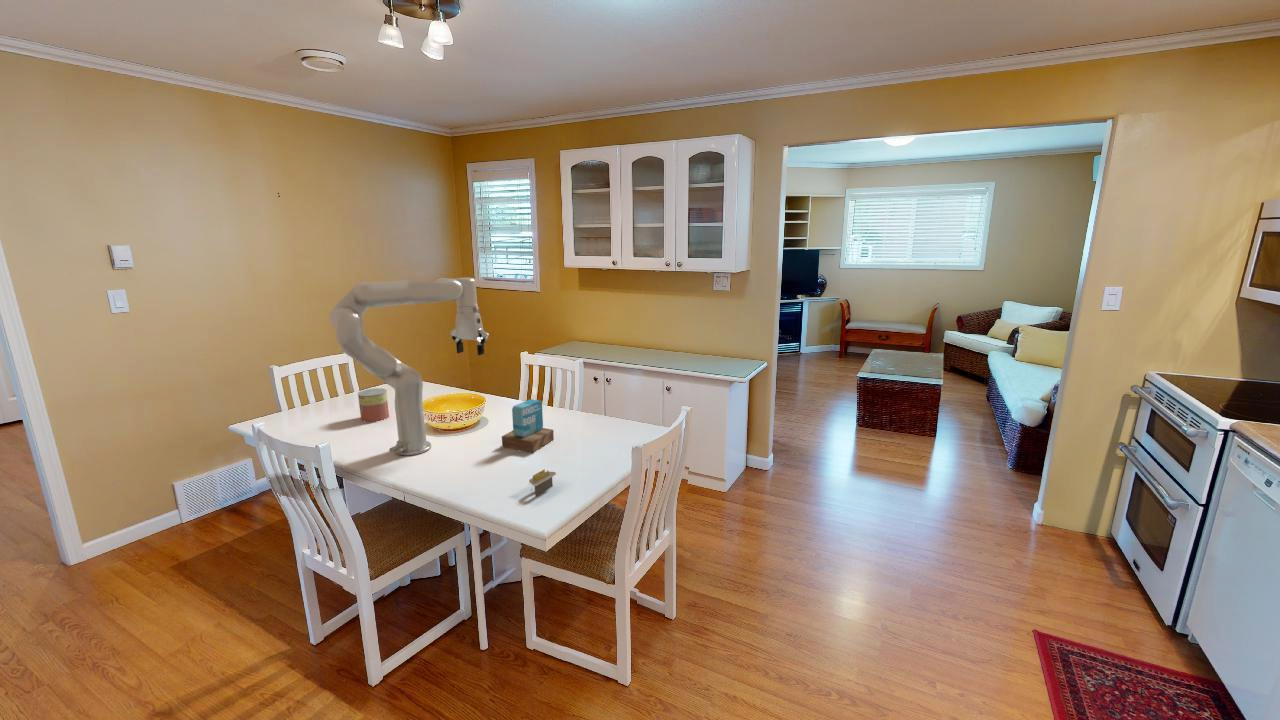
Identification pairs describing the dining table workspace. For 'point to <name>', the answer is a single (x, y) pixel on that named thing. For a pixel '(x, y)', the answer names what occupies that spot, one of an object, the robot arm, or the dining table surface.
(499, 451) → the dining table surface
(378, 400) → the canned food
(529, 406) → the blue flat box
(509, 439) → the walnut base block
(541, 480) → the platform
